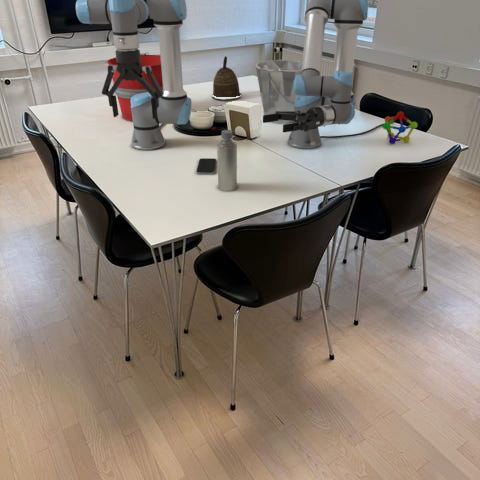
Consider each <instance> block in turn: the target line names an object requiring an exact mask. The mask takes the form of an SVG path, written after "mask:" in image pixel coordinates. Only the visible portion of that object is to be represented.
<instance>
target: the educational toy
mask: <svg viewBox="0 0 480 480" xmlns="http://www.w3.org/2000/svg"><path fill="white" fill-rule="evenodd" d="M397 119H399V124H400V125H399V127H398V126H393V125H391V124H393V123H392V122H394V123H395V121H396V120H397ZM403 120H404V121H405V122H407V123H408V124H409V125H407V126H404V123H403ZM383 123H384V124H383ZM383 123H382V124H383V126H382V129H383V130H386V132H387V138H388V142H389V145H395V144H396V143H397V142H402V141H403V142H404V143H409V142H410V140H411V138H410V136H411V134H412V132H413V131H414V130H415V129H417V127H418V122H417V121H411V120H410V119H409V118H408V117H406V116H405V113H404V112H403V111H401V110H400V111H398V112H397V114H396V115H394V116H391V117H390V116H386V117H385V118H384V122H383ZM392 129H393V130H397V131H398V132H396V134H395V133H394V132H392ZM408 129H409V131H408V133H407V134H406V135H404V136H401V134H403V133H405V132H406V130H408ZM399 135H400V136H399Z"/></svg>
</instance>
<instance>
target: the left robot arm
mask: <svg viewBox="0 0 480 480" xmlns="http://www.w3.org/2000/svg"><path fill="white" fill-rule="evenodd" d="M187 11H188V9H187V3H186V0H76V2H75V13H76V17H77V19H78V21H79V22H80V23H82V24H89V25H111V28H112V37H113V43H114V48H115V52H114V53H115V57H116V60H117V66H114V65H113V64H111V65H109V64H108V65H109V66H107V74H106V78H105V81H104V84H103V86H102V90H101V94H102V95H104V96H107V98H108V105H109V107H111V108H112V114H113V118H117V117H118V116H119V115H120V114H119V108H118V107H119V106H118V99H117V95H116V94H115V91H116V90H117V88H118V87H119V85H120V84H121V82H122V81H123V80H125V81H128V80H132V81H135V80H137V81H138V82H140V83H141V84H142V85H143V87H144V88H145V89H146V90H147V91H148V92H145V93H140V94H136V95H134V96H133V97H132V98H131V111H132V118H133V121H132V125H133V132H132V135H131V147H132V148H134V149H135V150H141V151H151V150H153V151H154V150H157V149H161V148H163V147H164V146H165V144H166V140H165V137H164V135H163V132H162V130H161V128H162V127H163V126H164V125H177V126H179V125H186V124H188V122H189V120H190V118H191V113H192V99H191V97H189V96H188V93H187V91H185V89H184V84H183V67H182V51H181V50H182V49H181V34H180V33H181V31H180V29H181V28H182V26H183V25H184V23H183V21H184V20H186V19H187V15H188V13H187ZM146 20H153V26H154V27H155V28H156V29H157V32H158V44H159V55H160V57H161V69H162V81H163V90H162V89H161V87H160V85H159V83H158V82H157V80H156V78H155V76H154V74H153V73H152V68H151V66H150V65H149V66H146V67H142V65H141V57H140V54H141V50H140V49H139V48H140V42H139V41H140V39H139V31H138V25H141V24H143V23H144V22H146ZM116 70H117V71H118V73H119V74H120V75H119V77H118V78H117V80H116V82H115V83H113V84H114V85H113V84H112V82H113V79H112V78H113V75H114V72H115V71H116ZM142 71H144V72H145V73H146V74H147V76H148V78H149V80H150V82H151V83H152V85H153V87H154V89H155V90H154V89H153V88H152V86H151V85H150V84H149V83H148V82H147V81H146V79H145V78H144V76H143V75H142V74H141V73H142ZM111 84H112V85H111ZM110 86H111V88H110ZM160 124H161V125H160Z"/></svg>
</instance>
